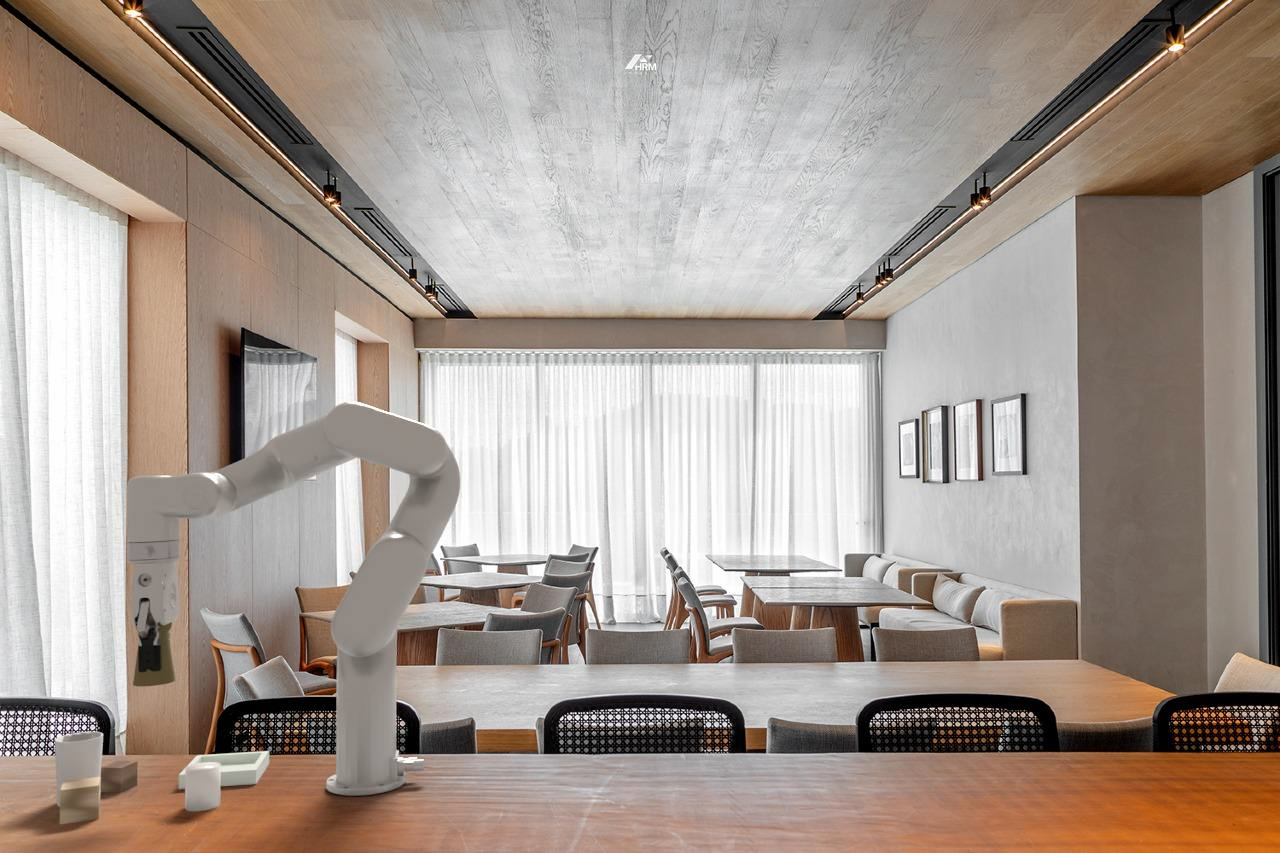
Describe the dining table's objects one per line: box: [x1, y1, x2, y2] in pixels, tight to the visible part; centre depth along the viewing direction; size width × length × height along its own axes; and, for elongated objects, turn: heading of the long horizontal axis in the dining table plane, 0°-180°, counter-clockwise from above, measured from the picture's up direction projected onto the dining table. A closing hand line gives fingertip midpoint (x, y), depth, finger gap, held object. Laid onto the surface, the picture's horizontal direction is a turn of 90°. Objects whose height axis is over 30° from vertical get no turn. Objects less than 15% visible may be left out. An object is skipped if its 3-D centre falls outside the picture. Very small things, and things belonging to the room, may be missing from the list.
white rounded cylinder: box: [184, 762, 222, 812], centre depth 153 cm, size 5×5×6 cm
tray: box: [178, 750, 270, 790], centre depth 169 cm, size 12×12×2 cm
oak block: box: [59, 777, 102, 825], centre depth 149 cm, size 5×5×5 cm
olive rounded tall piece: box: [132, 620, 176, 687], centre depth 158 cm, size 6×6×11 cm
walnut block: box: [101, 760, 139, 794], centre depth 163 cm, size 4×4×4 cm
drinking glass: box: [54, 731, 104, 808], centre depth 156 cm, size 7×7×10 cm
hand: (154, 667), depth 157 cm, fingers closed on olive rounded tall piece, 4 cm apart
